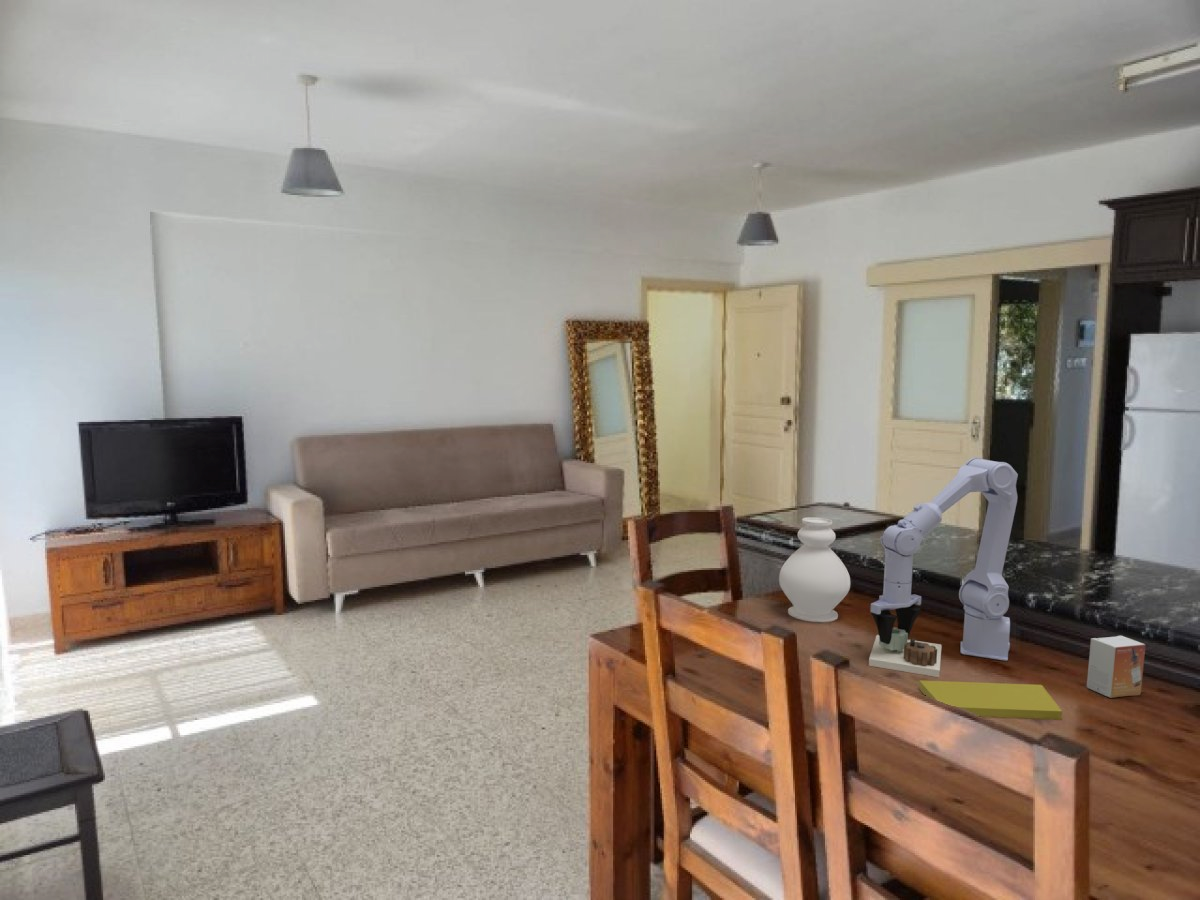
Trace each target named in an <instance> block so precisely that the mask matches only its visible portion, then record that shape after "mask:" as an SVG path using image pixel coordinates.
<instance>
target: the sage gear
mask: <svg viewBox="0 0 1200 900" xmlns="http://www.w3.org/2000/svg"><path fill="white" fill-rule="evenodd" d="M907 640H909V637H908V633H906V631H905V630H901V629H898V627H894V626H893V629H892V636H891V641H890V644H886V643H883V642H880V637H879V645H881V647H882V648H887V649H889V650H892V651H893V650H899V651H903V649H904V645H905V644H907Z"/></svg>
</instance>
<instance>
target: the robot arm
mask: <svg viewBox="0 0 1200 900" xmlns="http://www.w3.org/2000/svg"><path fill="white" fill-rule="evenodd" d="M1018 475H1019V473H1017V471H1016V470H1015V469H1014V468H1013V467H1012V465H1011V464H1009V463H1007V462H1005V461H994V460H989V459H985V458H984V459H983V458H981V457H972V458H970V459H968V460H967V461H966V462H965V464H964V465H961V466H960V467H959V468H958V472H957V475H955V476H954V477H953V479H951V481H950V482H948V483H947V484H946V486H945V487H944V488H943V489H942V490H941V491H940V492H939V493H938V494H937V495H936V496H935V497H934V498H933V499H931V501H930V502H921V503H919V504H918V503H917V504H915V505H914V506H913V510H911V511H910V512H909V513H908V514H907V515H906V516H905V517H903V519H899V520H898V521H897V524H894V525H890V526H888V527H886V529H885V530H884V531H883V534H882V536H880V543H881V545H882V547H883V549H884V571H883V572H884V573H883V574H884V575H883V590H882V591H883V592H882V594H881V595H879V598H878V600H876V601H874V602H872V603H870V614H871V616H872V618H873V620H874V623H875V625H876V628H877V631H878V635H879V637H880V642H883V643H886V644H890V641H891V636H892V629H893V627H894V626H895V622H896V620H897V629H901V630H905V631H906V633H908V638H909V637H910V633H911V632H912V627H913V625H914V623H915V622H916V620H917V618H918V616H919V615H920V614H921V613H922V612H921V610H922V609H921V608H920V607H917V606H921V605H922V596H921V595H917V594H912V584H913V583H912V581H913V565H914V564H913V563H914V554H915V553H917V552H918V550H919V549H920V546H921V543H922V541H923V540H924V538H925V537H926V536H927V535H928V534H929V533H930V532H932V531H933V530H934V529H935V528H936V527H937V526H939V525H940V524H941V522H942V519H943V518H942V517H943V515H942V514H943V513H945V512H946V511H947V510H949V509H950V508H951V507H953V506H954V505H955V504H956V503H958V502H959V501H961V500H962V499H963V498H965V497H966V496H967V495H968V494H970V493H979V492H980V493H981V494H982V496H984V498H985V499H986V500H987V502H988V503H987V504H988V505H987V509H986V514H985V517H984V518H985V519H984V523H983V528H982V533H981V538H980V544H979V548H978V552H977V559H976V563H975V566H974V567H975V568H974V569H972V570H971V571H970V572H968V573H967V574H966V575H965V579H964V582H963V583H962V584H961V586H960V588H959V591H958V598H959V600H960V602H961V603H962V605H963V610H964V621H963V635H962V636H963V637H962V641H960V654H962V655H966V656H973V657H979V658H985V659H992V660H998V661H999V660H1000V661H1005V662H1007V661H1008V659H1009V651H1010V647H1011V642H1010V634H1011V633H1010V632H1011V620H1010V617H1008V616H1004V615H1005V614H1006V613H1007V611H1008V609H1009V606H1010V599H1009V588H1010V587H1009V585H1008V583H1007V582H1006V580H1005V578H1004V576H1003V571H1004V567H1005V566H1004V565H1005V562H1006V561H1005V560H1006V556H1007V551H1008V547H1009V542H1010V537H1011V532H1012V527H1013V522H1014V518H1015V517H1014V516H1015V513H1016V507H1017V503H1018V492H1017V480H1018V477H1019V476H1018ZM893 610H895V613H896V615H895V614H892V612H891V611H893Z"/></svg>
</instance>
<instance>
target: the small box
mask: <svg viewBox="0 0 1200 900" xmlns="http://www.w3.org/2000/svg"><path fill="white" fill-rule="evenodd" d="M1089 647H1090V648H1089V658H1088V669H1087V679H1086V688H1087V689H1089V690H1091V691H1094V692H1095V693H1096V692H1097V693H1099V694H1101V695H1103V696H1105V697H1107V698H1109V699H1113V698H1119V697H1129V696H1130V697H1131V696H1141V693H1142V684H1143V673H1144V663H1145V655H1146V654H1145V653H1146V644H1145V643H1143V642H1139V641H1137V640H1135V639H1132V638H1129V637H1126V636H1123V635H1117V636H1109V637H1097V638H1096V637H1093V638H1090V645H1089Z"/></svg>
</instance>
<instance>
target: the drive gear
mask: <svg viewBox="0 0 1200 900" xmlns="http://www.w3.org/2000/svg"><path fill="white" fill-rule="evenodd" d="M909 640H910V642H908V643H907V644H905V645H904V658H905V661H907V662H912V664H915V665H917V664H919V665H922V666H927V665H931V666H933V665H934V663H936V662H937V649H936V647H935V646H930V645H929V644H927V643H928V642H927V643H920V642H915V641H916V638H914V637H910V639H909Z"/></svg>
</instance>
